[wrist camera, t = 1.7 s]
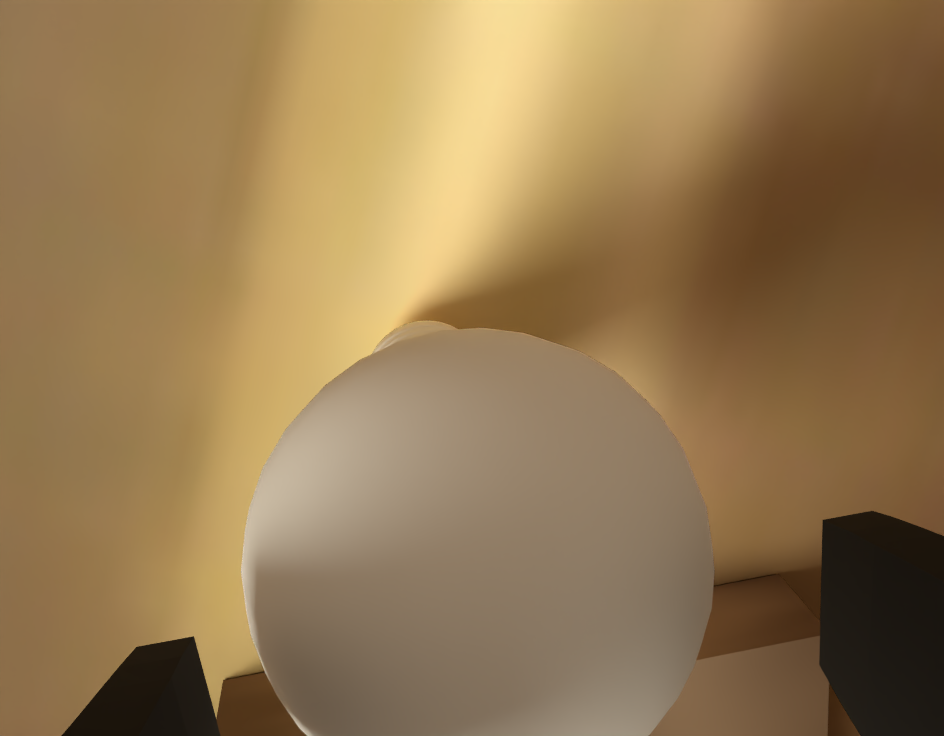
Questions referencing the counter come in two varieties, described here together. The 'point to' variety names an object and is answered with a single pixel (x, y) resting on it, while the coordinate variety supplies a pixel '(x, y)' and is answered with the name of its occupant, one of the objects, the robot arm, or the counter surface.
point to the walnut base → (706, 690)
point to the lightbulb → (477, 546)
